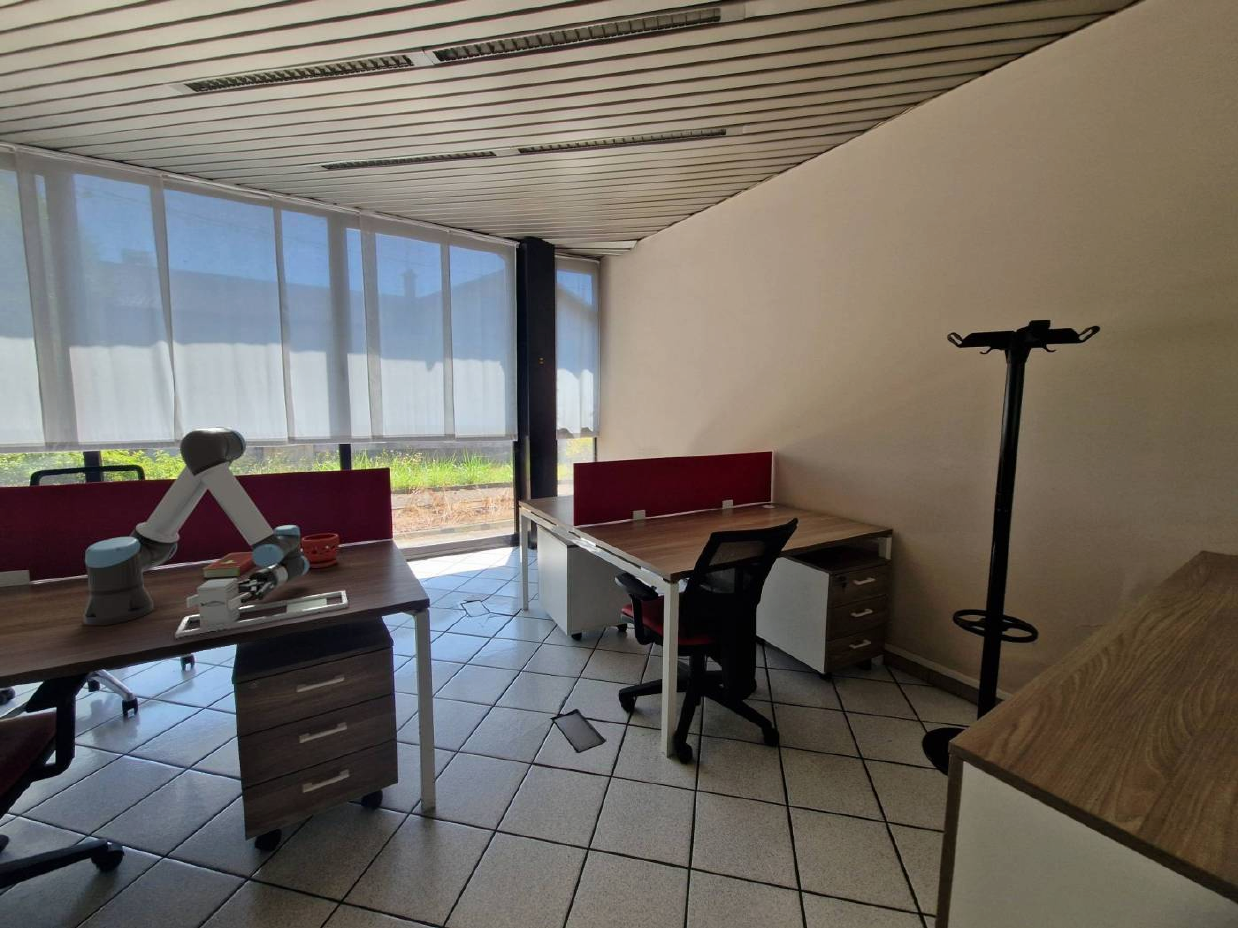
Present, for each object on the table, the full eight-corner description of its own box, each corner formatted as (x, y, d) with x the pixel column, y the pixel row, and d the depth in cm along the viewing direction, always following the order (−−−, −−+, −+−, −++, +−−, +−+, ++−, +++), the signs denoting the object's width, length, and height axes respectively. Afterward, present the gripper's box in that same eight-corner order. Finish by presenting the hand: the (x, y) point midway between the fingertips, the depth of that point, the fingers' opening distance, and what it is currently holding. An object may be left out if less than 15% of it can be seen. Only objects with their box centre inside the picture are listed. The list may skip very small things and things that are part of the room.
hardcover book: (264, 560, 208) (263, 550, 208) (239, 576, 188) (238, 566, 187) (231, 562, 205) (230, 552, 205) (202, 579, 185) (201, 568, 185)
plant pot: (346, 563, 204) (344, 535, 203) (313, 571, 193) (311, 542, 192) (329, 557, 211) (328, 530, 210) (296, 565, 200) (294, 537, 199)
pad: (286, 616, 152) (286, 615, 152) (287, 605, 160) (287, 604, 160) (327, 609, 158) (327, 608, 158) (326, 598, 166) (326, 597, 166)
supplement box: (199, 629, 143) (195, 587, 142) (212, 618, 150) (209, 579, 149) (229, 626, 145) (225, 585, 143) (241, 616, 152) (237, 577, 151)
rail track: (175, 638, 137) (174, 633, 137) (185, 621, 148) (184, 616, 148) (347, 607, 160) (347, 602, 159) (345, 594, 171) (345, 590, 170)
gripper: (302, 591, 164) (248, 618, 143) (234, 588, 166) (171, 614, 145) (301, 569, 163) (246, 593, 142) (232, 566, 165) (169, 589, 144)
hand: (208, 604), depth 143 cm, fingers open, 13 cm apart
